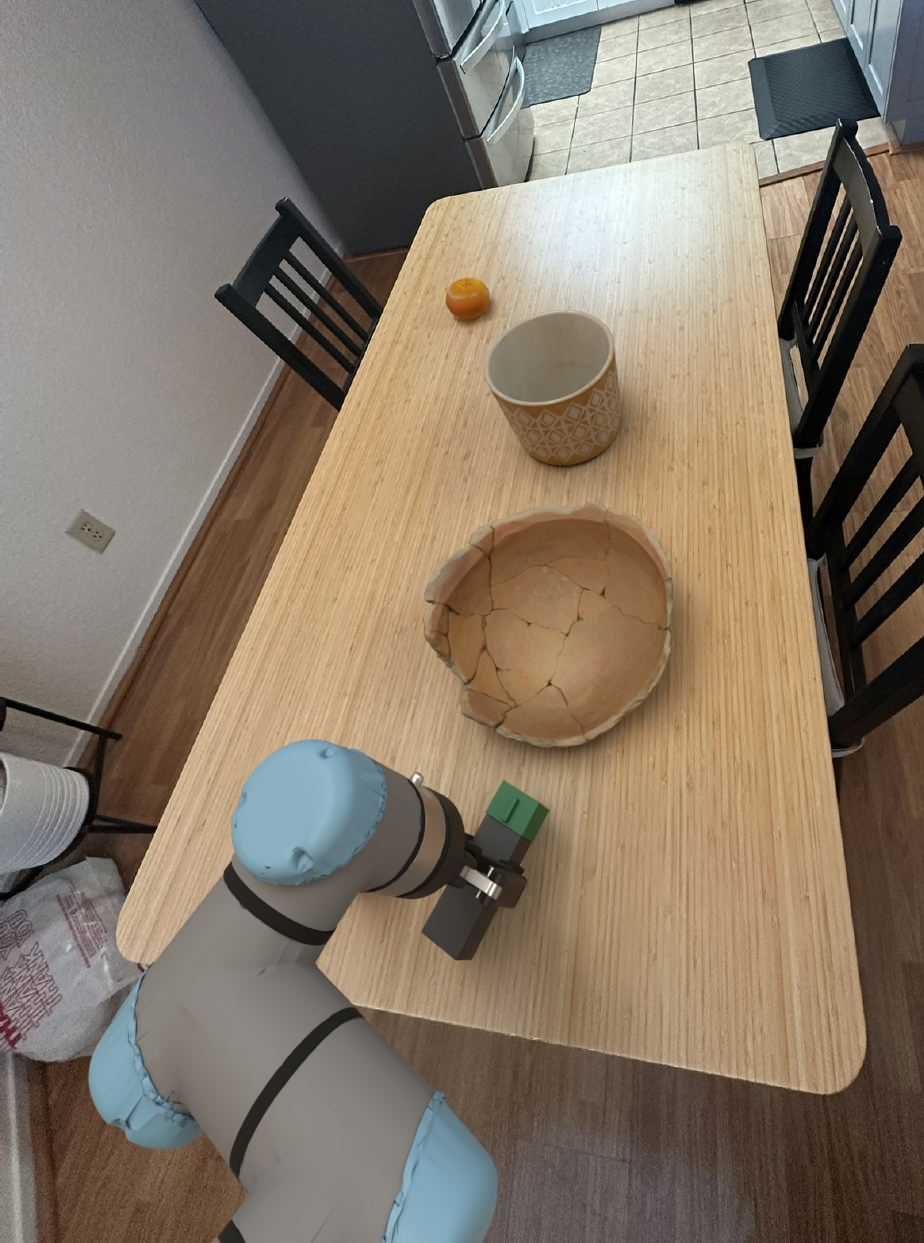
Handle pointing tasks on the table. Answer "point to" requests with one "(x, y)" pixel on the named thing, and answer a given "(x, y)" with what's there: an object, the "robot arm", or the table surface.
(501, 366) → the planter
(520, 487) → the table surface
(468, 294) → the fruit
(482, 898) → the robot arm
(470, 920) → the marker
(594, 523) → the ceramic bowl
